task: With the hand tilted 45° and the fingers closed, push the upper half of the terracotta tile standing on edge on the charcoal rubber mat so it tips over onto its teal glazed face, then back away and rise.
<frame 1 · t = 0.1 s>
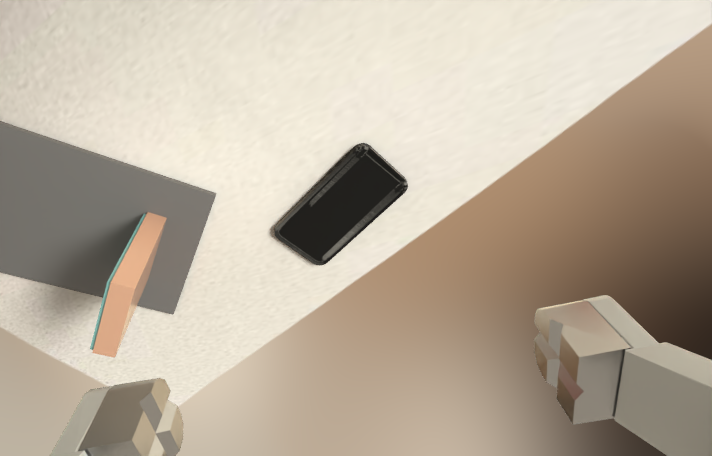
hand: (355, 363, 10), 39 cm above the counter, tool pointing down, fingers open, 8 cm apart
tile: (147, 246, 52), point 1 cm above the counter, touching mat
mat: (92, 227, 51), on the counter
phone: (339, 204, 53), on the counter
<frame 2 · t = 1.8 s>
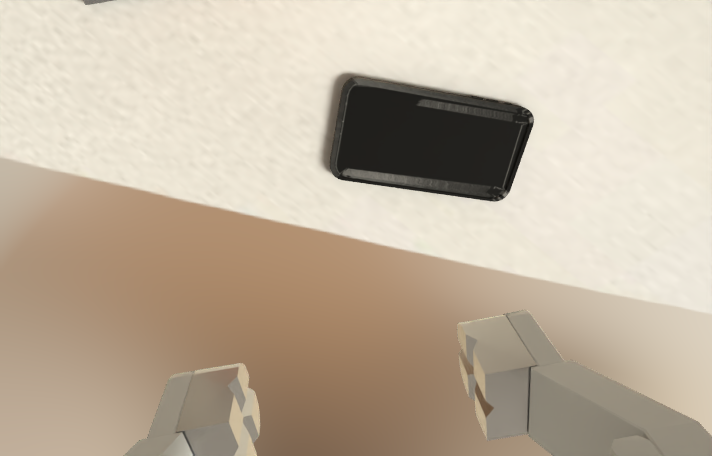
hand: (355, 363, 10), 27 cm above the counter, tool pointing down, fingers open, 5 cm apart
phone: (428, 139, 37), on the counter
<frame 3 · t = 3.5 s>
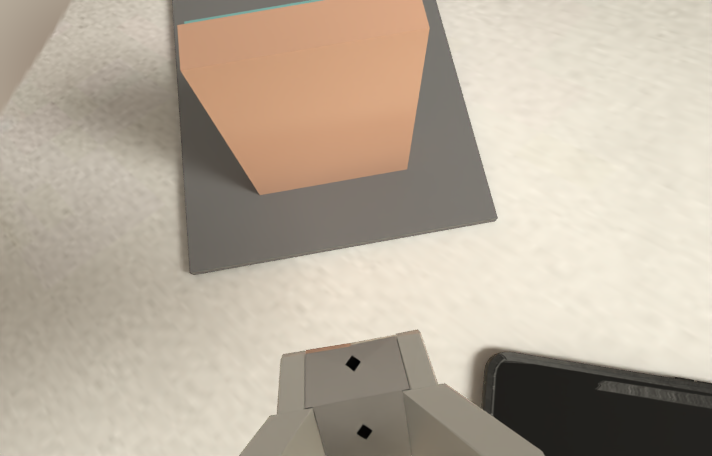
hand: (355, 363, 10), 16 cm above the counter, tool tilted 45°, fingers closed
tile: (331, 167, 28), point 1 cm above the counter, touching mat
mat: (317, 89, 31), on the counter
phone: (623, 448, 24), on the counter
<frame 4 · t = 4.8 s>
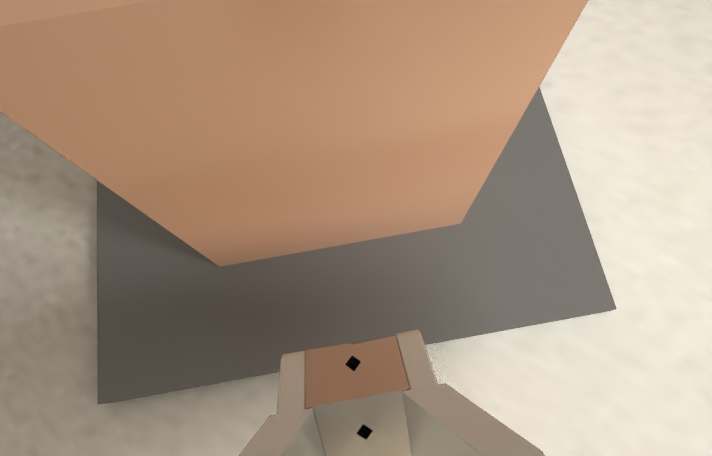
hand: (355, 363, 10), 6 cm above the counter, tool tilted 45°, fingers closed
tile: (336, 219, 17), point 1 cm above the counter, touching mat
mat: (314, 93, 20), on the counter
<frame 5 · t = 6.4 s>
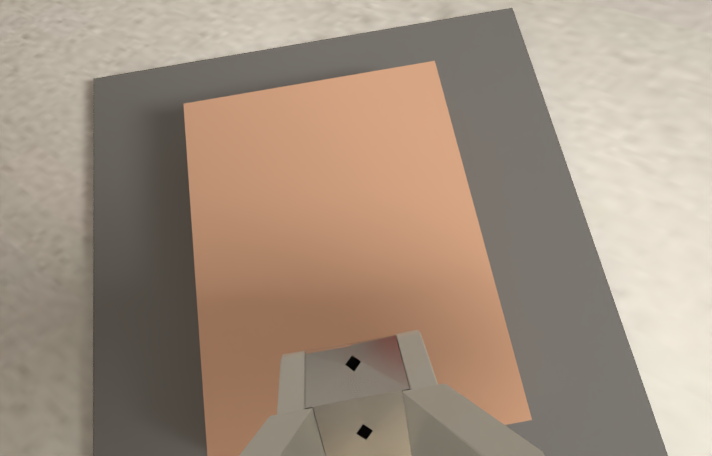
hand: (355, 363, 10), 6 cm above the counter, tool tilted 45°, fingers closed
tile: (371, 444, 14), point 2 cm above the counter, tilted 90°, touching mat
mat: (348, 300, 17), on the counter
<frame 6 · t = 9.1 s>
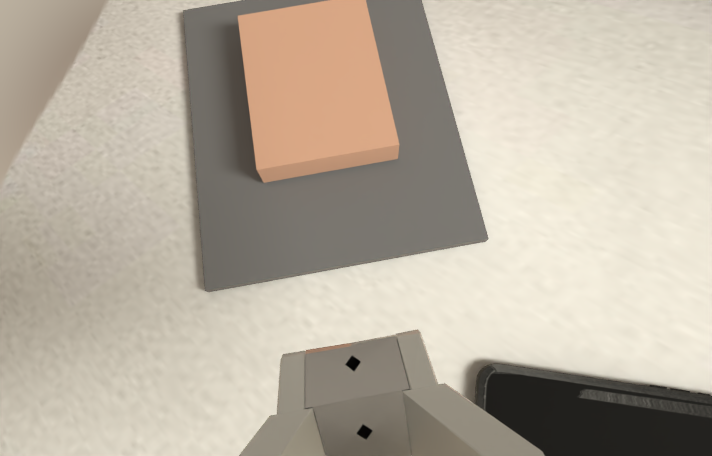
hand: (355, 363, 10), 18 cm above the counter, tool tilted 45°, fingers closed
tile: (329, 164, 30), point 2 cm above the counter, tilted 90°, touching mat
mat: (321, 117, 33), on the counter
phone: (603, 450, 26), on the counter
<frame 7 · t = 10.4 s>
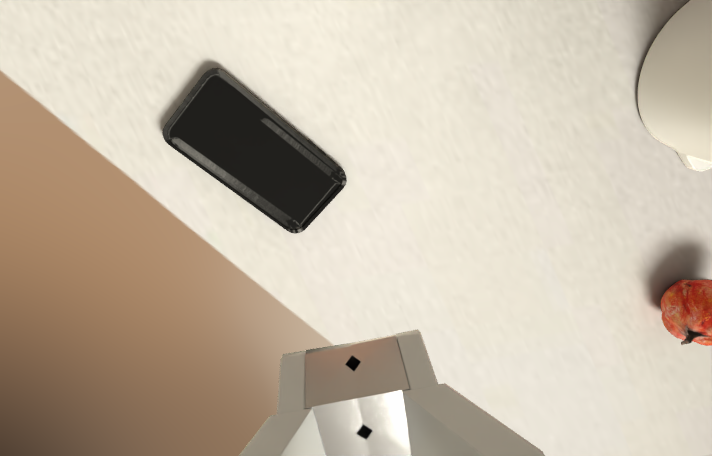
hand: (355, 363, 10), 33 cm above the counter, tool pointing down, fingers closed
pomegranate: (677, 291, 54), on the counter
phone: (260, 153, 42), on the counter
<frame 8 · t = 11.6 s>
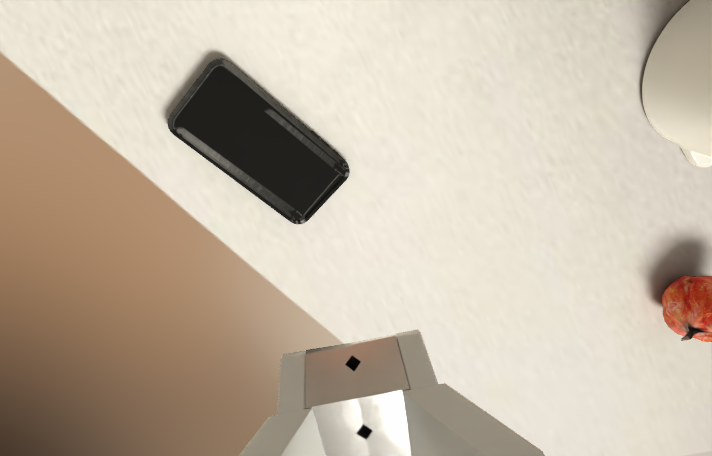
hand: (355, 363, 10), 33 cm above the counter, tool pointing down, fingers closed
pomegranate: (679, 288, 54), on the counter
phone: (264, 144, 42), on the counter
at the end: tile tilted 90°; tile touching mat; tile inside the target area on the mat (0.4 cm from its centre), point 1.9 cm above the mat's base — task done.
